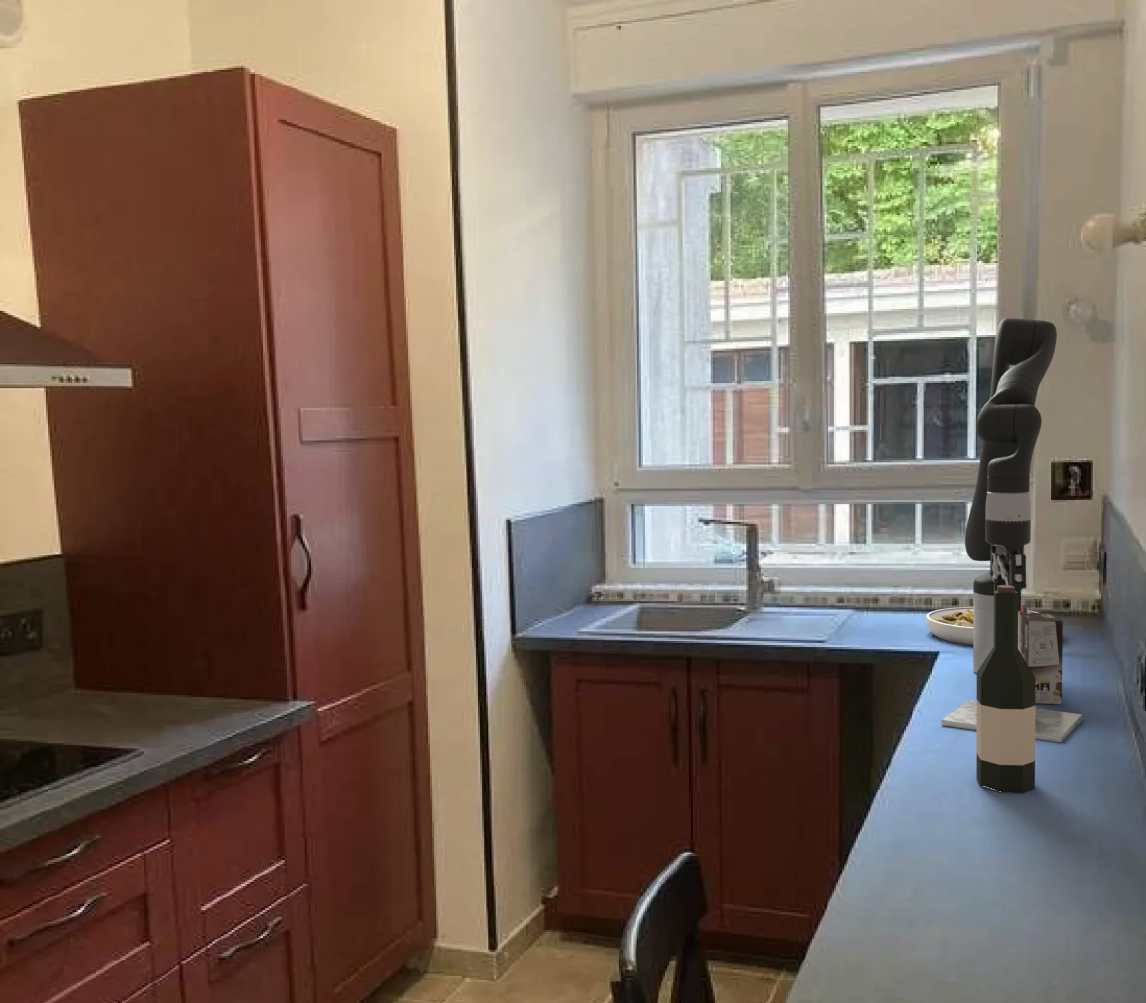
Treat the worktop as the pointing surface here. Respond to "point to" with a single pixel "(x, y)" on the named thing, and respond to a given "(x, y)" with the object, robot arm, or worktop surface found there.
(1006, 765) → the wine bottle
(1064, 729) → the duct plate
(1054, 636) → the coffee box
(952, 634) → the bowl
